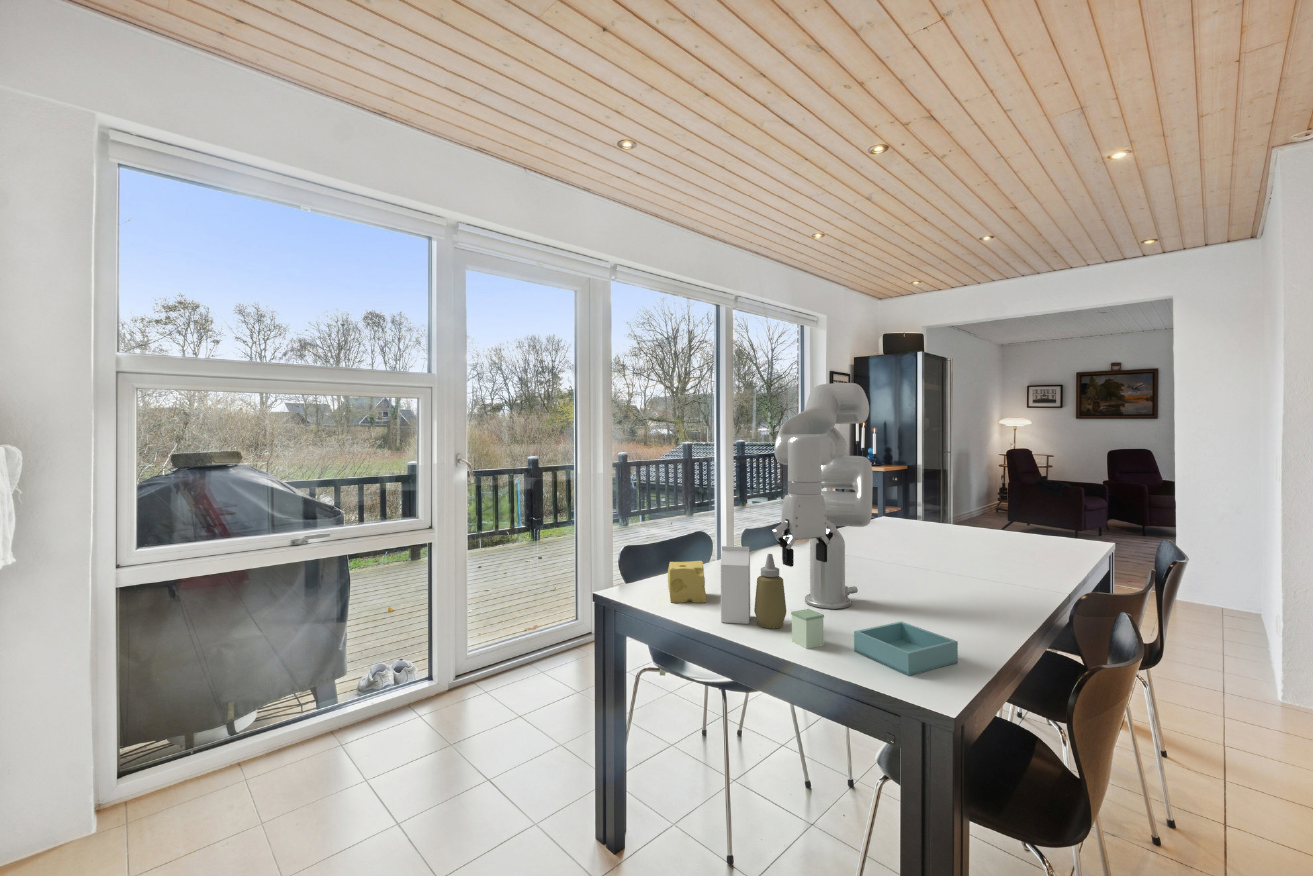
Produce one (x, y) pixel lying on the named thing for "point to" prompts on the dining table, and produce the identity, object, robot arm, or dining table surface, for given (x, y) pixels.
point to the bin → (906, 647)
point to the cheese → (686, 582)
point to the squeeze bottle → (770, 596)
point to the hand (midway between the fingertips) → (805, 563)
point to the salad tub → (807, 628)
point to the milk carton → (735, 584)
